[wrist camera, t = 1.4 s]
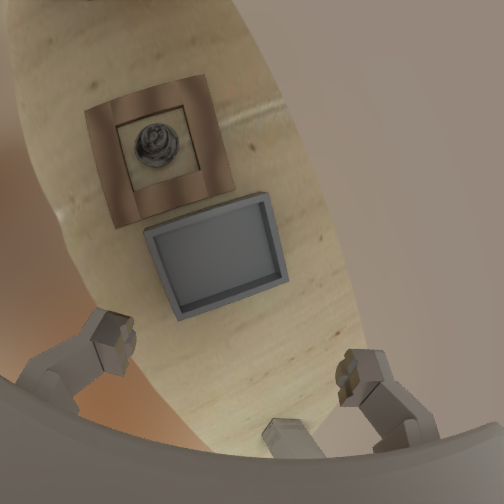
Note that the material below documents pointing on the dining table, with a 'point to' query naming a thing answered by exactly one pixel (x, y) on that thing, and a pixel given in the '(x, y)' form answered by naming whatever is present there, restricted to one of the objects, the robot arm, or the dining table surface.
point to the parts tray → (218, 254)
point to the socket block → (171, 191)
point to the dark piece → (156, 145)
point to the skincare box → (290, 440)
